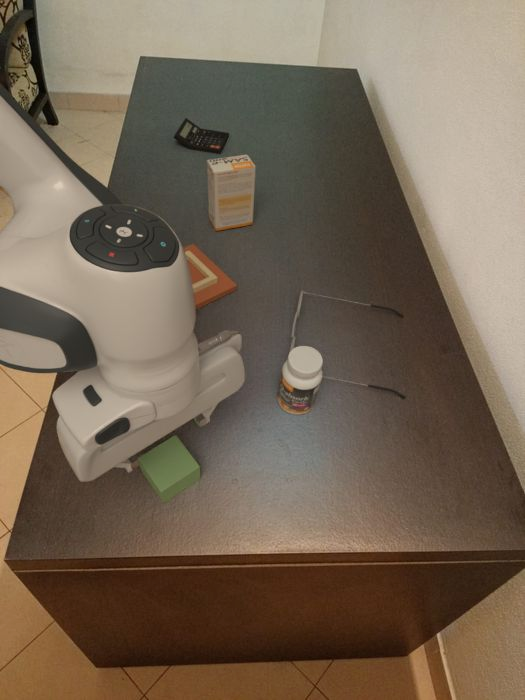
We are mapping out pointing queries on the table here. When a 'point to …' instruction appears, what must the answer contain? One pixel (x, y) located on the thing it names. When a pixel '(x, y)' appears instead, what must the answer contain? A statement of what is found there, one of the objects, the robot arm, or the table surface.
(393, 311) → the eyeglasses
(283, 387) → the pill bottle
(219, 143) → the calculator
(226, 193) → the supplement box
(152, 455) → the green block
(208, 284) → the base pad
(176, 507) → the table surface
